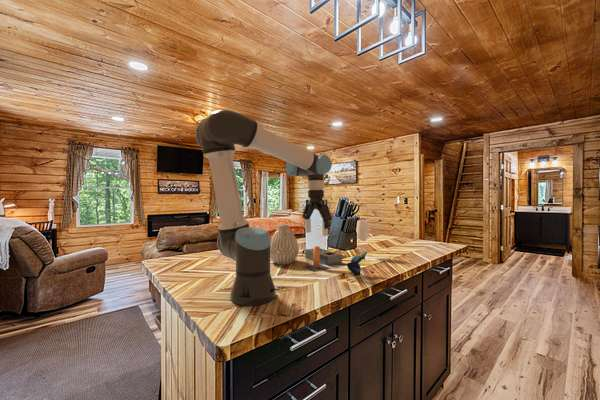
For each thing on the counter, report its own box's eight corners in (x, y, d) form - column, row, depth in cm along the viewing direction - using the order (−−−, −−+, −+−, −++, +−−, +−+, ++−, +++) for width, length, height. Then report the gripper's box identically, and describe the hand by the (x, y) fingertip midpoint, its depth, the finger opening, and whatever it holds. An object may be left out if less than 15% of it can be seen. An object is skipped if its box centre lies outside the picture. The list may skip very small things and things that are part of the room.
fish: (370, 274, 114) (369, 252, 113) (350, 277, 110) (350, 254, 110) (364, 272, 118) (364, 250, 117) (344, 274, 114) (344, 252, 114)
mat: (331, 269, 122) (331, 268, 122) (314, 272, 117) (314, 271, 117) (318, 264, 131) (318, 263, 131) (302, 267, 125) (302, 266, 125)
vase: (280, 269, 123) (280, 227, 123) (262, 262, 135) (261, 224, 135) (305, 263, 134) (304, 224, 134) (285, 257, 146) (285, 222, 146)
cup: (354, 256, 149) (354, 220, 149) (364, 255, 151) (364, 219, 151) (361, 258, 142) (361, 221, 142) (372, 257, 145) (372, 220, 144)
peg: (320, 267, 123) (320, 247, 123) (315, 268, 122) (315, 247, 122) (317, 266, 126) (317, 246, 126) (312, 267, 124) (312, 246, 124)
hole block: (342, 264, 131) (342, 254, 131) (328, 266, 127) (328, 256, 126) (318, 256, 148) (318, 247, 148) (305, 258, 143) (305, 249, 143)
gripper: (339, 188, 115) (339, 236, 115) (307, 190, 136) (307, 230, 136) (326, 188, 111) (326, 238, 111) (295, 190, 132) (295, 231, 132)
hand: (316, 234), depth 124 cm, fingers open, 13 cm apart
